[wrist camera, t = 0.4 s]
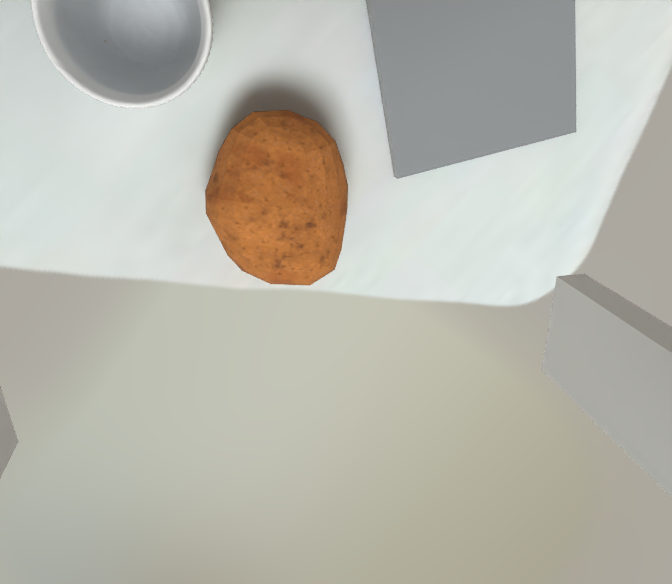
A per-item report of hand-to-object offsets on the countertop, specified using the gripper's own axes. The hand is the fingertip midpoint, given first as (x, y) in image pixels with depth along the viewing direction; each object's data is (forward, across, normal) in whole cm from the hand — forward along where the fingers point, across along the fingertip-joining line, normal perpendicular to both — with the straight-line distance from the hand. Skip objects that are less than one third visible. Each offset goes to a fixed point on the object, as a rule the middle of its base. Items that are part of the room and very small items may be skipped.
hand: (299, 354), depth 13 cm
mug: (+27, -5, +9) cm, 29 cm away
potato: (+27, +2, -2) cm, 27 cm away
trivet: (+27, +16, +6) cm, 32 cm away
